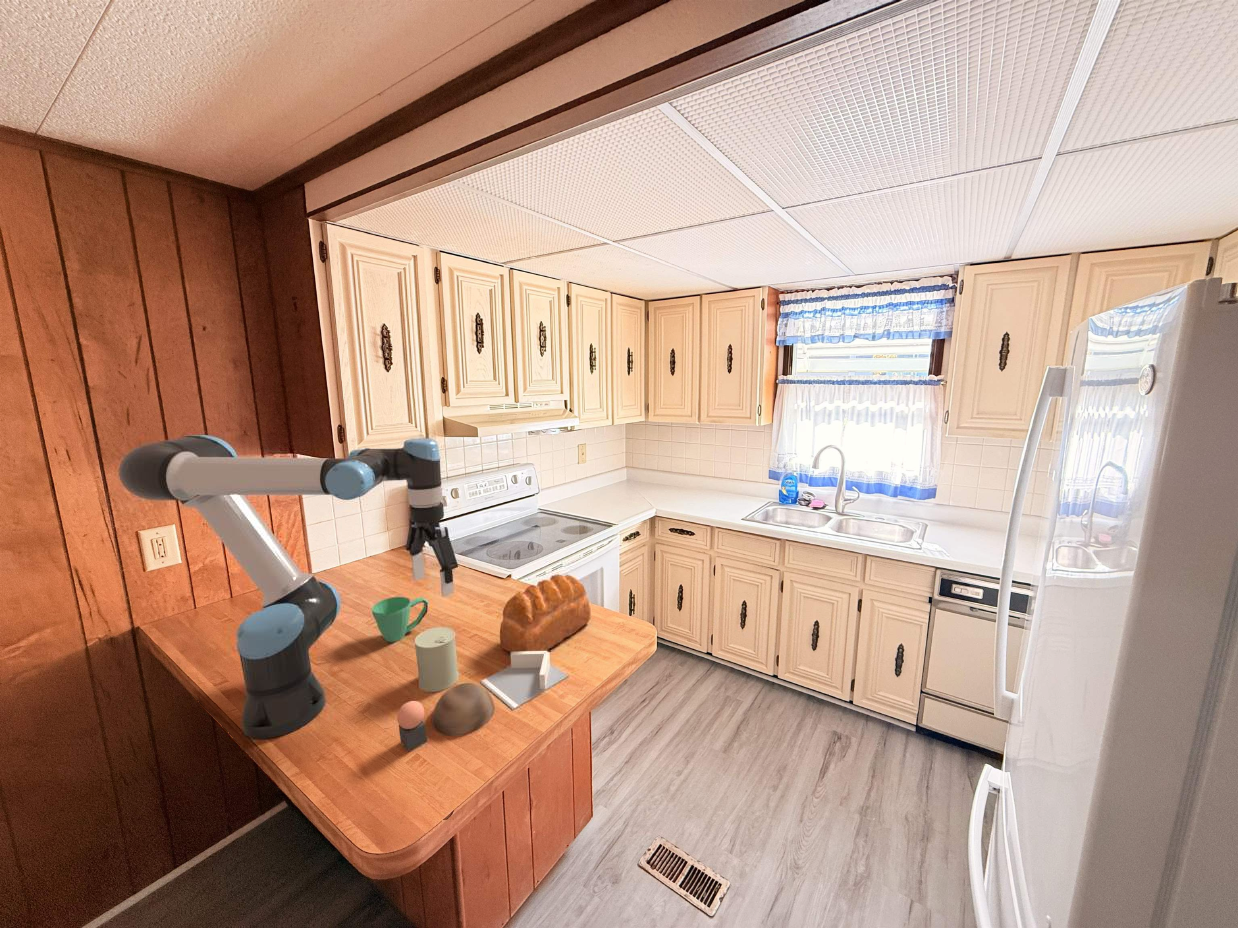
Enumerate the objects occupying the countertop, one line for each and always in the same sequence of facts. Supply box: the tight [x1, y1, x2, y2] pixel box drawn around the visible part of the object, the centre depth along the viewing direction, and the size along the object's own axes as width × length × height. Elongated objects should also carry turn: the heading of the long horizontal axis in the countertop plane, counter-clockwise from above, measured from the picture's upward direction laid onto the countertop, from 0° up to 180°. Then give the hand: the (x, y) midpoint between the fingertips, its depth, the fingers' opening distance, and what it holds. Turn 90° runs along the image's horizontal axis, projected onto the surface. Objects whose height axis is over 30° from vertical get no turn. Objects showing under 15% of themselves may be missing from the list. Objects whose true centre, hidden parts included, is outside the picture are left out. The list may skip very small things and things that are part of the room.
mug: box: [371, 596, 429, 643], centre depth 136 cm, size 15×10×10 cm
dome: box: [432, 682, 495, 737], centre depth 105 cm, size 13×13×13 cm
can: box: [413, 626, 460, 693], centre depth 116 cm, size 9×9×12 cm
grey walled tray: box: [479, 650, 569, 711], centre depth 116 cm, size 16×14×4 cm
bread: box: [499, 573, 592, 653], centre depth 135 cm, size 14×26×16 cm, turn 143°
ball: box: [396, 700, 425, 729], centre depth 96 cm, size 5×5×5 cm
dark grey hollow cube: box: [398, 720, 428, 753], centre depth 97 cm, size 4×4×4 cm
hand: (433, 586), depth 118 cm, fingers open, 13 cm apart
